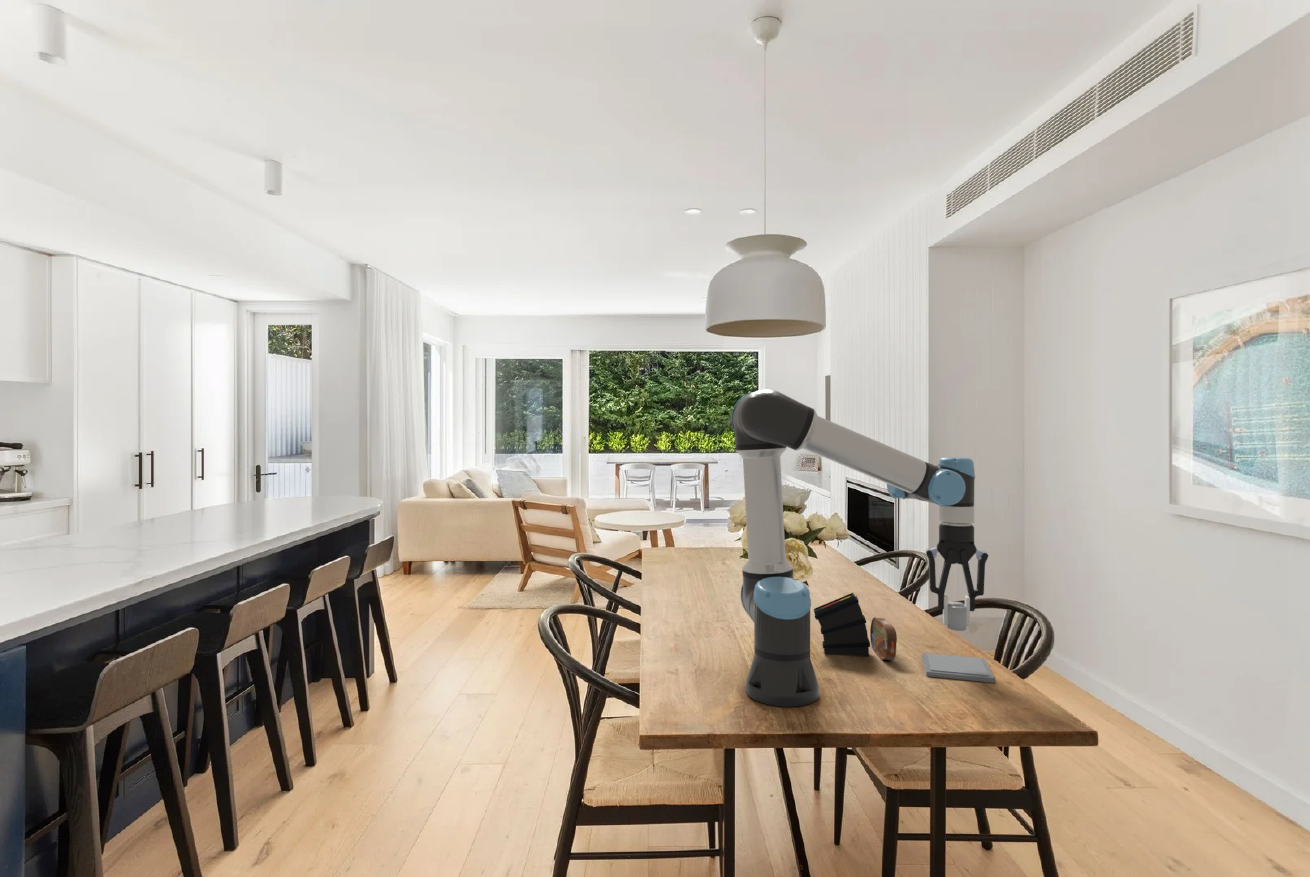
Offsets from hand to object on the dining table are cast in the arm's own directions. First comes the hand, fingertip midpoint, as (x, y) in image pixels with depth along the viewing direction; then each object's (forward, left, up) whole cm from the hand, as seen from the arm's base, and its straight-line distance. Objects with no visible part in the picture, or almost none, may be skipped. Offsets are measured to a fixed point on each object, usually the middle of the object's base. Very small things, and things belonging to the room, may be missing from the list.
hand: (956, 623), depth 159 cm
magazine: (-26, +4, -11) cm, 28 cm away
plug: (0, +1, -1) cm, 1 cm away
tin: (-16, +6, -11) cm, 20 cm away
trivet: (0, 0, -11) cm, 11 cm away
